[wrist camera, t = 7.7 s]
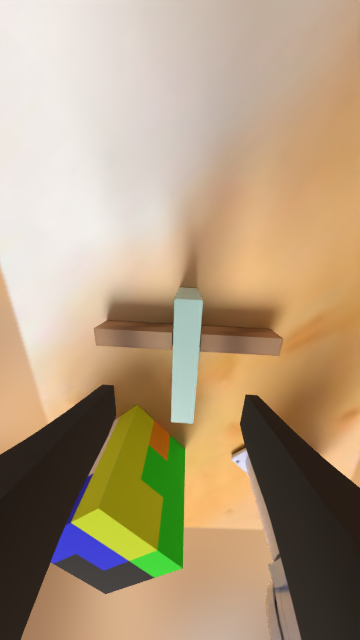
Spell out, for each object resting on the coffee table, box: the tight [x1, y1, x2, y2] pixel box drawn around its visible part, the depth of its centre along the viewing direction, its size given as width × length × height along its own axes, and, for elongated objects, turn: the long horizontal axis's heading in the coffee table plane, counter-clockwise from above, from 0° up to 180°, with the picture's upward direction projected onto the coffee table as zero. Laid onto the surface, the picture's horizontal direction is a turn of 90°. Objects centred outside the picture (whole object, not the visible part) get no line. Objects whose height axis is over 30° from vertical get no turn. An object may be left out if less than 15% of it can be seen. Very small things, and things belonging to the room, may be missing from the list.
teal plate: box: [171, 287, 203, 424], centre depth 15 cm, size 10×2×7 cm, turn 178°
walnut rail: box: [94, 321, 283, 356], centre depth 17 cm, size 18×2×3 cm, turn 88°
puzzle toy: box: [51, 405, 185, 594], centre depth 19 cm, size 10×10×10 cm
